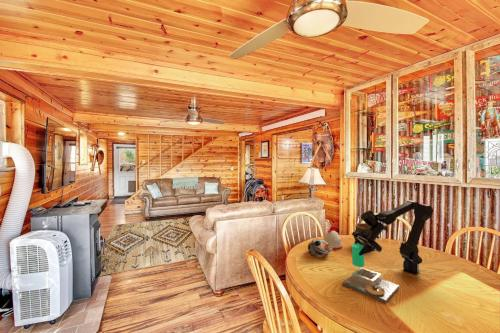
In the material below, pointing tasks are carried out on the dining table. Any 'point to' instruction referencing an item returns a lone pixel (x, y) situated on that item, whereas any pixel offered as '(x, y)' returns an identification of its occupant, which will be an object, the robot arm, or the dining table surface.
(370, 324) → the dining table surface
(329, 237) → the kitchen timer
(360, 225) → the plant pot
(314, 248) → the lucky cat figurine
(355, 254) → the candle
